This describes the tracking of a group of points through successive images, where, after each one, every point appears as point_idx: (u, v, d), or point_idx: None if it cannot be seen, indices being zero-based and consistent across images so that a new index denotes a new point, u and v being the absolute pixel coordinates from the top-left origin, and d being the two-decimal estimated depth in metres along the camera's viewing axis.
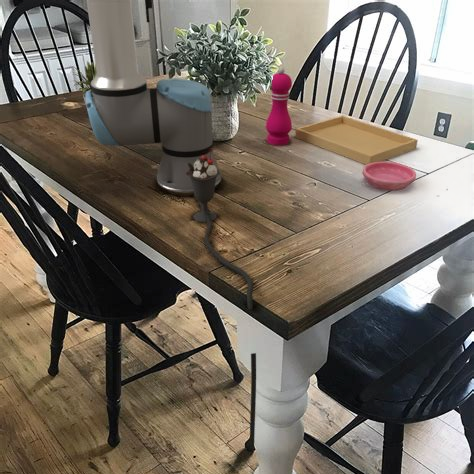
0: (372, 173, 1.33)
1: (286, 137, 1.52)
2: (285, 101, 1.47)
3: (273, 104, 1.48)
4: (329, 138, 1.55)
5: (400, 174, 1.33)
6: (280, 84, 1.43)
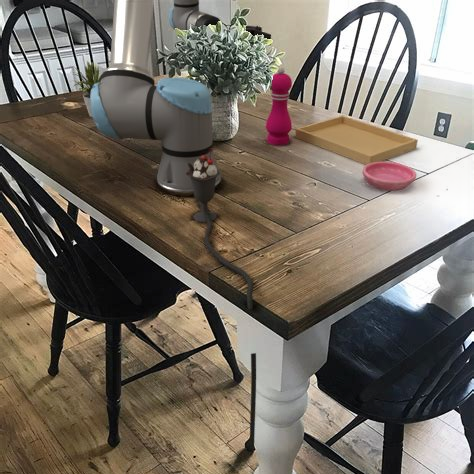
0: (372, 173, 1.33)
1: (286, 137, 1.52)
2: (285, 101, 1.47)
3: (273, 104, 1.48)
4: (329, 138, 1.55)
5: (400, 174, 1.33)
6: (280, 84, 1.43)
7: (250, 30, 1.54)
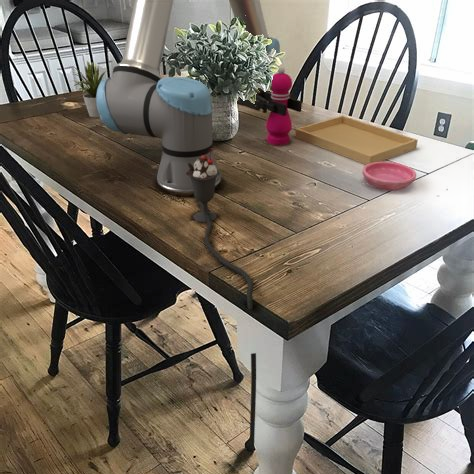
0: (372, 173, 1.33)
1: (286, 137, 1.52)
2: (285, 101, 1.47)
3: None
4: (329, 138, 1.55)
5: (400, 174, 1.33)
6: (280, 84, 1.43)
7: None
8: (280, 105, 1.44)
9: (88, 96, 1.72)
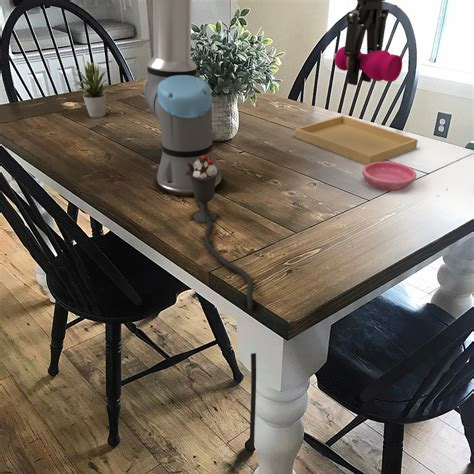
0: (372, 173, 1.33)
1: None
2: None
3: None
4: (329, 138, 1.55)
5: (400, 174, 1.33)
6: None
7: None
8: None
9: (88, 96, 1.72)
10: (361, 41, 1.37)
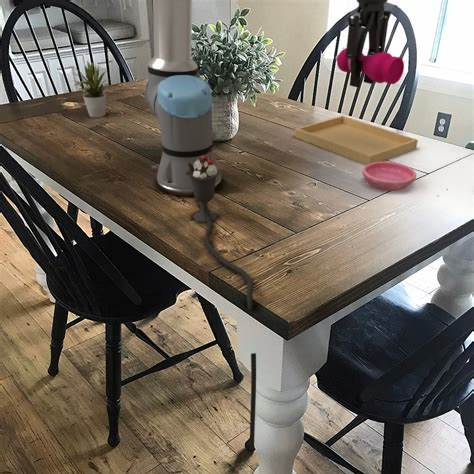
0: (372, 173, 1.33)
1: None
2: None
3: None
4: (329, 138, 1.55)
5: (400, 174, 1.33)
6: None
7: None
8: None
9: (88, 96, 1.72)
10: (363, 43, 1.37)
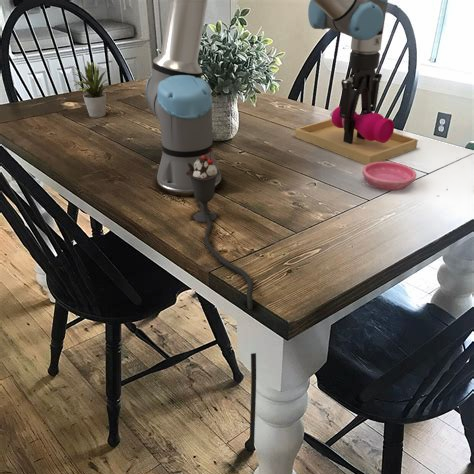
0: (372, 173, 1.33)
1: None
2: None
3: None
4: (329, 138, 1.55)
5: (400, 174, 1.33)
6: None
7: None
8: None
9: (88, 96, 1.72)
10: (355, 104, 1.45)
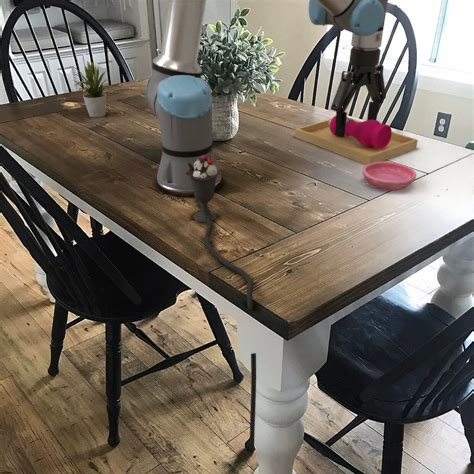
0: (372, 173, 1.33)
1: None
2: (350, 135, 1.54)
3: None
4: (329, 138, 1.55)
5: (400, 174, 1.33)
6: None
7: None
8: None
9: (88, 96, 1.72)
10: (350, 98, 1.43)
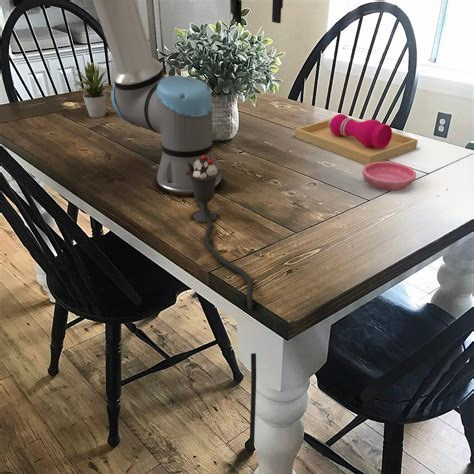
0: (372, 173, 1.33)
1: None
2: (350, 135, 1.54)
3: None
4: (329, 138, 1.55)
5: (400, 174, 1.33)
6: None
7: None
8: None
9: (88, 96, 1.72)
10: None
